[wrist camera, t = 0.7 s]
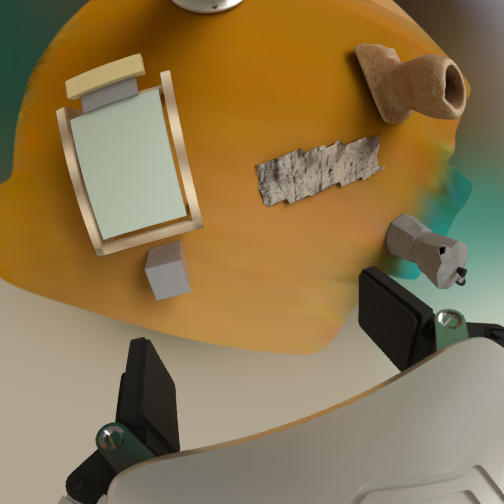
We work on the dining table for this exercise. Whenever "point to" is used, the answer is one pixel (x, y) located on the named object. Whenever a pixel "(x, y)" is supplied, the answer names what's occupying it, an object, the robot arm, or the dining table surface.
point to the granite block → (168, 270)
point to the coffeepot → (428, 251)
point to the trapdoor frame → (99, 244)
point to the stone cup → (412, 84)
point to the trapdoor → (124, 149)
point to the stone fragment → (317, 170)
